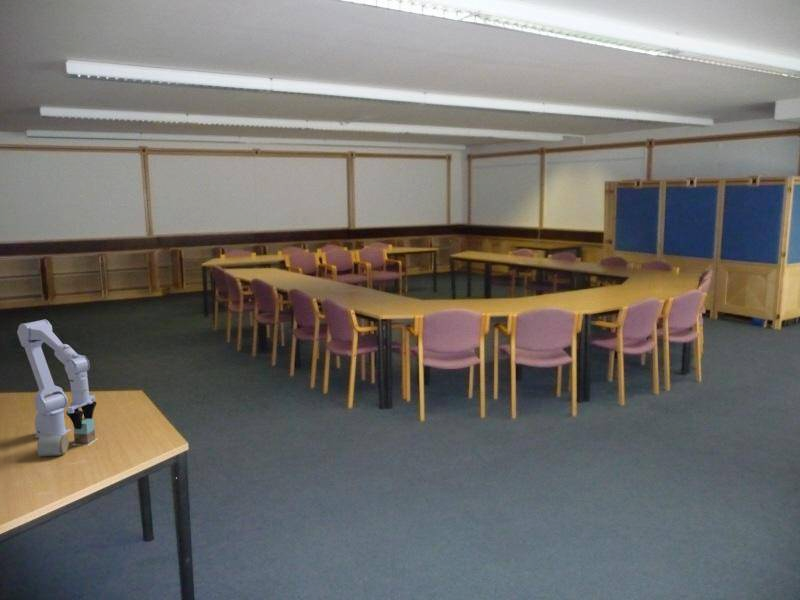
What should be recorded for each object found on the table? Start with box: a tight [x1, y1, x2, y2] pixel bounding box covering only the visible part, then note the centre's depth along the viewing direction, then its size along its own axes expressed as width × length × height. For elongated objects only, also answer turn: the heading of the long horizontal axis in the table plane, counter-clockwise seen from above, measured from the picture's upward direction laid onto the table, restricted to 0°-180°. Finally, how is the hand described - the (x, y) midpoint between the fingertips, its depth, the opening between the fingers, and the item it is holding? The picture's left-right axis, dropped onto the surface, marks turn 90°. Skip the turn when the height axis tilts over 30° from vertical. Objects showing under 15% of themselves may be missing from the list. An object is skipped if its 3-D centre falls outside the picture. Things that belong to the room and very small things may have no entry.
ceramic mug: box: [36, 434, 70, 458], centre depth 226 cm, size 11×8×8 cm
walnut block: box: [73, 429, 96, 444], centre depth 235 cm, size 5×5×4 cm
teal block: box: [72, 418, 96, 435], centre depth 234 cm, size 5×5×4 cm
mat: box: [71, 437, 99, 446], centre depth 235 cm, size 10×9×1 cm
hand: (83, 425), depth 234 cm, fingers open, 6 cm apart
